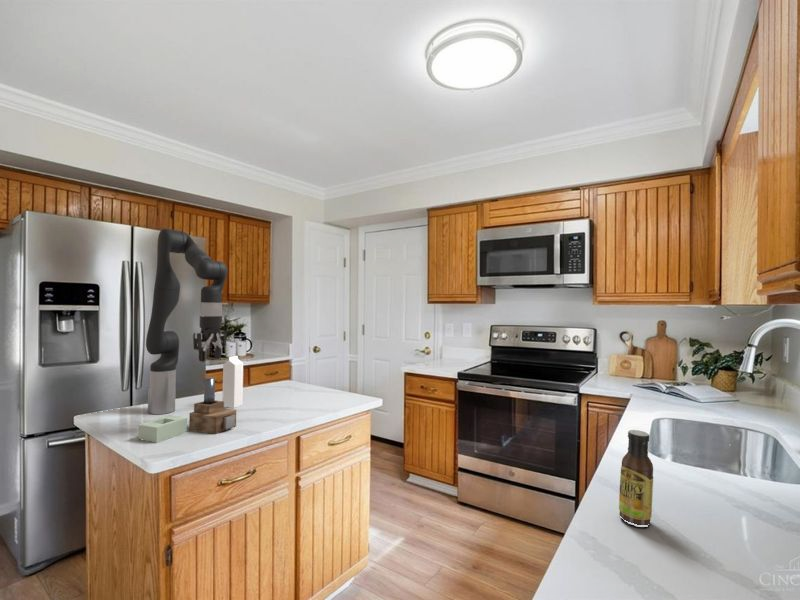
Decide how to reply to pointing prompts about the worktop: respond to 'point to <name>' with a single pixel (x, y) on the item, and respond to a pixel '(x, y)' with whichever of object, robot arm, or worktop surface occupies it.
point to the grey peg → (209, 390)
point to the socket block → (209, 417)
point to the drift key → (228, 421)
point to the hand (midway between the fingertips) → (210, 359)
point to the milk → (233, 382)
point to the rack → (162, 428)
